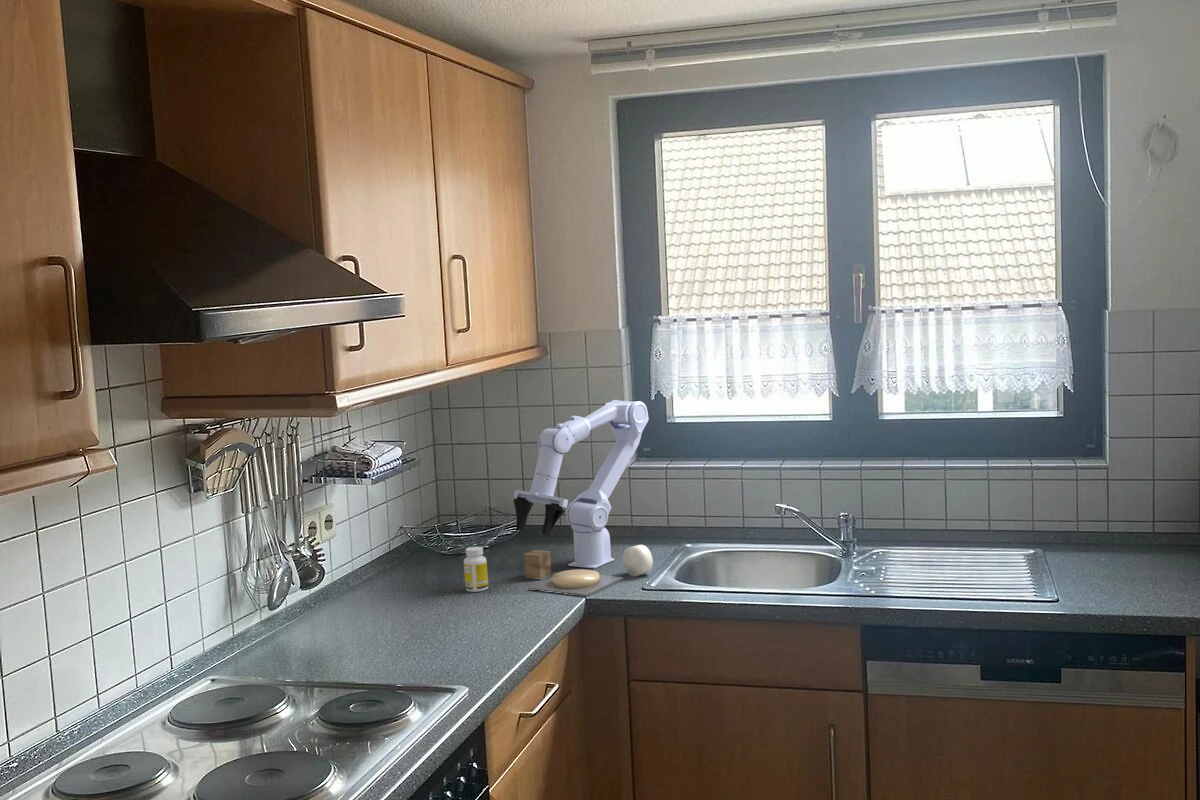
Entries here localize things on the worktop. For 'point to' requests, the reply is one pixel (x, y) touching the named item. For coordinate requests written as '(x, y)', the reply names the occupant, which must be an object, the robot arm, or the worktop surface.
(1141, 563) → the worktop surface
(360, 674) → the worktop surface
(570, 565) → the robot arm
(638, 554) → the white round ball
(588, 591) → the base
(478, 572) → the supplement bottle
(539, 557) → the block
